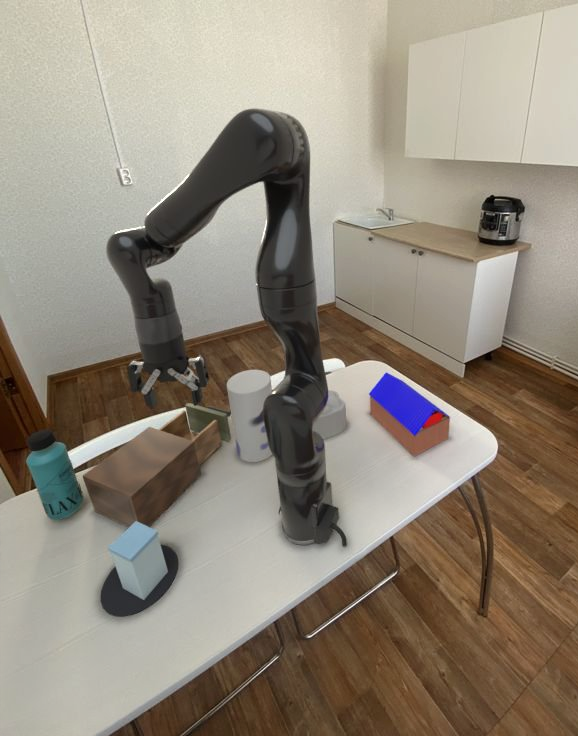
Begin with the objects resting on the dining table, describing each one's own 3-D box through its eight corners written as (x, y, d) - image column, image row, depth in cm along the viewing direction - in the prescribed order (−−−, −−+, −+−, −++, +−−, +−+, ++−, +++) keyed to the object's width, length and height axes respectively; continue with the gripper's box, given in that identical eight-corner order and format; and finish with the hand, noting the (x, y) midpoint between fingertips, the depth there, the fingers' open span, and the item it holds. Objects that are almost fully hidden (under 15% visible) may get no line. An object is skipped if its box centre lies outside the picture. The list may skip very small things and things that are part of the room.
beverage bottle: (42, 530, 76) (9, 450, 69) (57, 502, 82) (28, 427, 75) (79, 521, 78) (50, 443, 71) (92, 495, 84) (66, 421, 77)
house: (402, 399, 115) (402, 366, 110) (449, 439, 99) (453, 401, 95) (368, 413, 109) (368, 378, 105) (414, 458, 93) (415, 418, 89)
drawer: (205, 417, 107) (200, 393, 104) (241, 428, 102) (238, 404, 100) (147, 466, 90) (140, 439, 88) (187, 481, 86) (181, 453, 83)
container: (268, 465, 91) (259, 394, 84) (229, 459, 93) (218, 390, 86) (284, 436, 100) (277, 371, 93) (249, 432, 102) (239, 367, 95)
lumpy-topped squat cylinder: (350, 430, 102) (349, 403, 99) (303, 446, 97) (301, 418, 94) (335, 408, 111) (333, 383, 108) (291, 422, 106) (289, 395, 103)
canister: (169, 571, 68) (157, 531, 65) (143, 601, 64) (130, 559, 60) (148, 560, 70) (136, 520, 66) (122, 588, 65) (107, 547, 62)
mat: (192, 558, 70) (192, 557, 70) (135, 629, 60) (134, 628, 60) (145, 536, 75) (145, 535, 75) (84, 599, 64) (83, 597, 64)
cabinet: (157, 458, 94) (149, 426, 90) (201, 475, 89) (194, 441, 85) (94, 511, 80) (82, 475, 77) (142, 534, 75) (130, 496, 72)
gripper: (110, 345, 68) (130, 419, 74) (193, 339, 69) (207, 413, 75) (129, 327, 75) (146, 396, 81) (204, 322, 76) (216, 391, 82)
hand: (175, 404), depth 78 cm, fingers open, 8 cm apart
